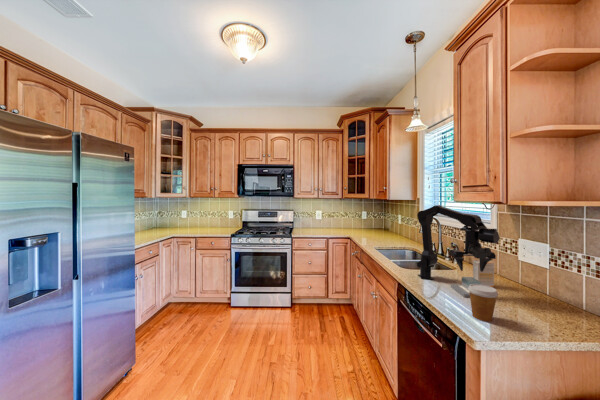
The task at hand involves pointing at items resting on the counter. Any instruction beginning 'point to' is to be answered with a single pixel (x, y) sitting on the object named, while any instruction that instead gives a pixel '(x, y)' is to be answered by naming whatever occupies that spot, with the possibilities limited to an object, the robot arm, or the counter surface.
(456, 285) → the stand
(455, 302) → the counter surface
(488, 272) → the supplement box
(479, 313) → the disposable coffee cup
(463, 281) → the block
